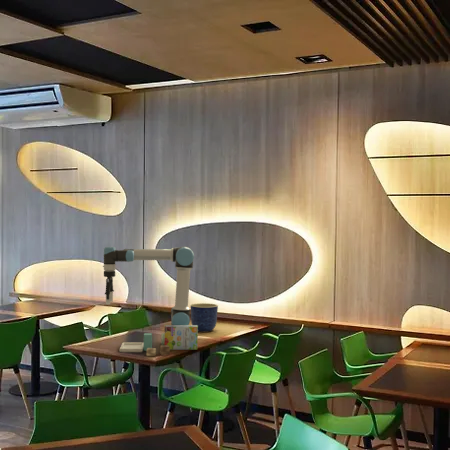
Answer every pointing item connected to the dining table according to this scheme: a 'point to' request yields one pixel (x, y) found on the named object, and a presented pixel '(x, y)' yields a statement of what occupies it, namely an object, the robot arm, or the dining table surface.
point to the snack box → (181, 337)
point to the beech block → (151, 351)
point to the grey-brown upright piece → (162, 338)
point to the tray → (132, 347)
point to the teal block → (147, 341)
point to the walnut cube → (164, 350)
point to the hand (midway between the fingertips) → (109, 303)
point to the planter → (204, 316)
